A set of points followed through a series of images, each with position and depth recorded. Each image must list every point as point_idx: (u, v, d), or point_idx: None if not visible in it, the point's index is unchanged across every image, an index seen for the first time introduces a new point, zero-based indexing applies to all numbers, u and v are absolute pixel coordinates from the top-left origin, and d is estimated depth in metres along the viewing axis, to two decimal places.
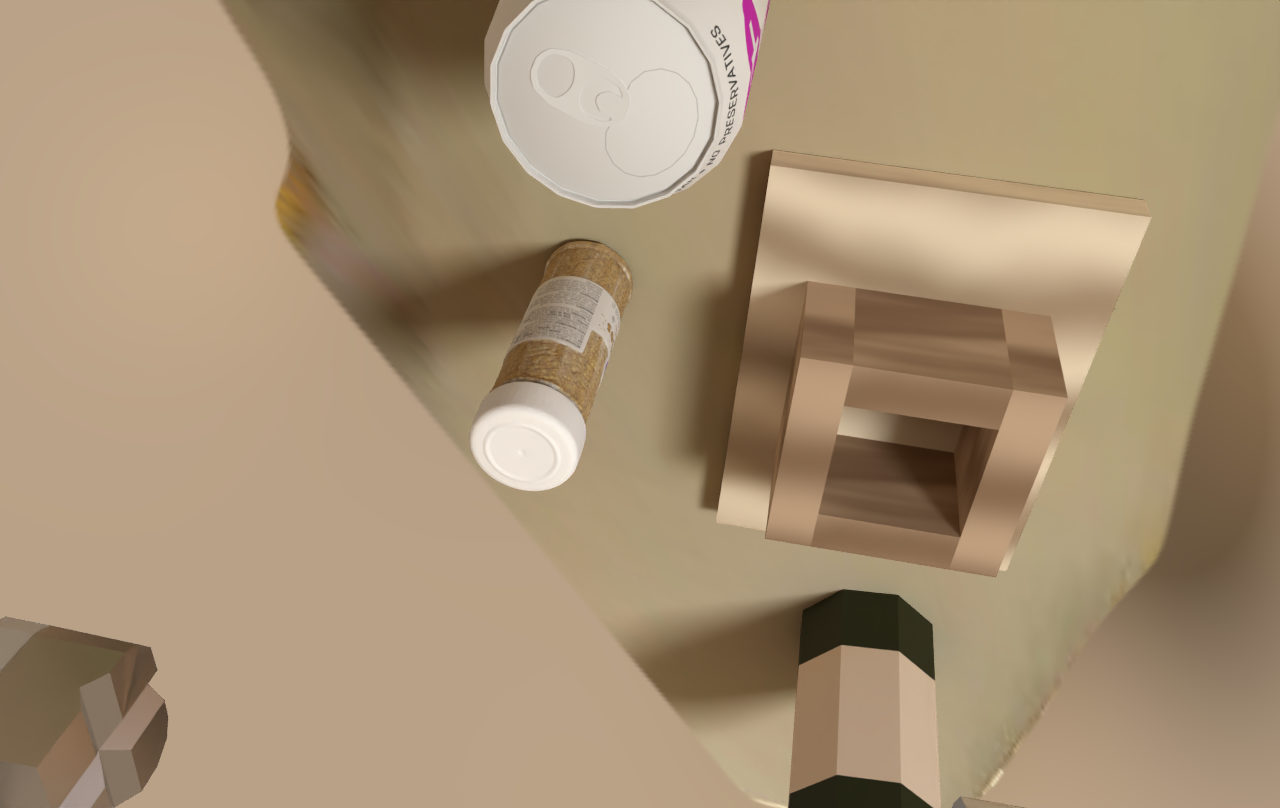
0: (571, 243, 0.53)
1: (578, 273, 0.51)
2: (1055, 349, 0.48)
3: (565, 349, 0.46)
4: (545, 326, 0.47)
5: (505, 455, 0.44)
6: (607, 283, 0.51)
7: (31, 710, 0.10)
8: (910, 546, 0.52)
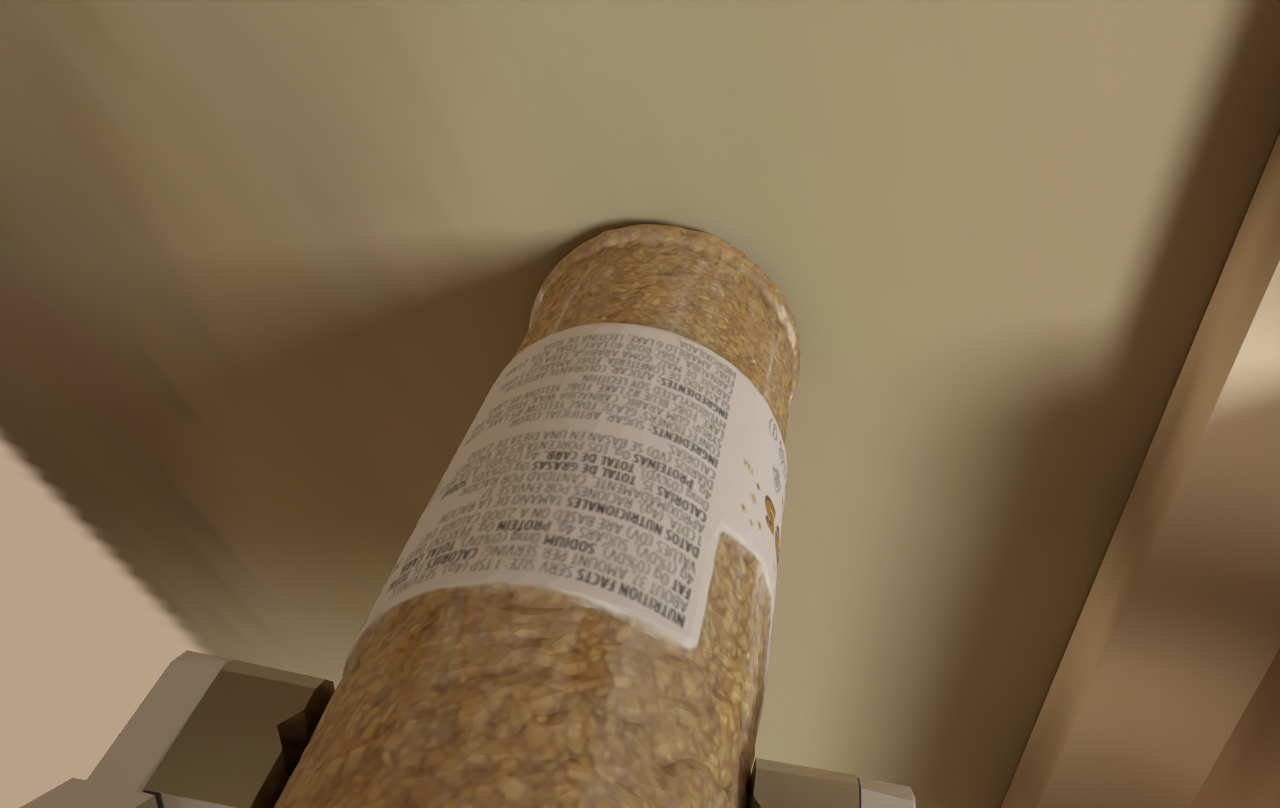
0: (616, 232, 0.17)
1: (646, 316, 0.14)
2: None
3: (617, 640, 0.10)
4: (530, 518, 0.11)
5: None
6: (743, 352, 0.15)
7: (233, 750, 0.10)
8: None
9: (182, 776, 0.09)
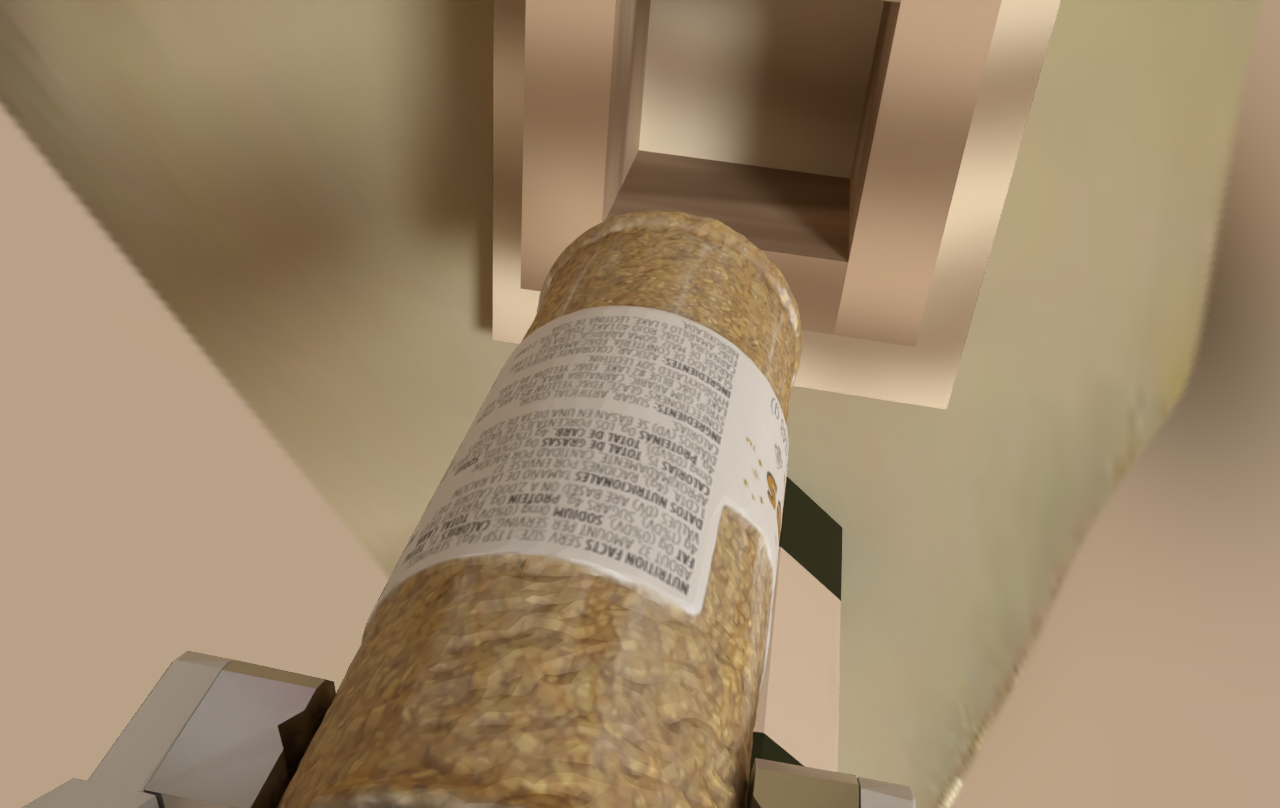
0: (621, 217, 0.17)
1: (651, 297, 0.15)
2: None
3: (624, 606, 0.10)
4: (540, 492, 0.11)
5: None
6: (746, 334, 0.15)
7: (233, 750, 0.10)
8: None
9: (183, 776, 0.09)
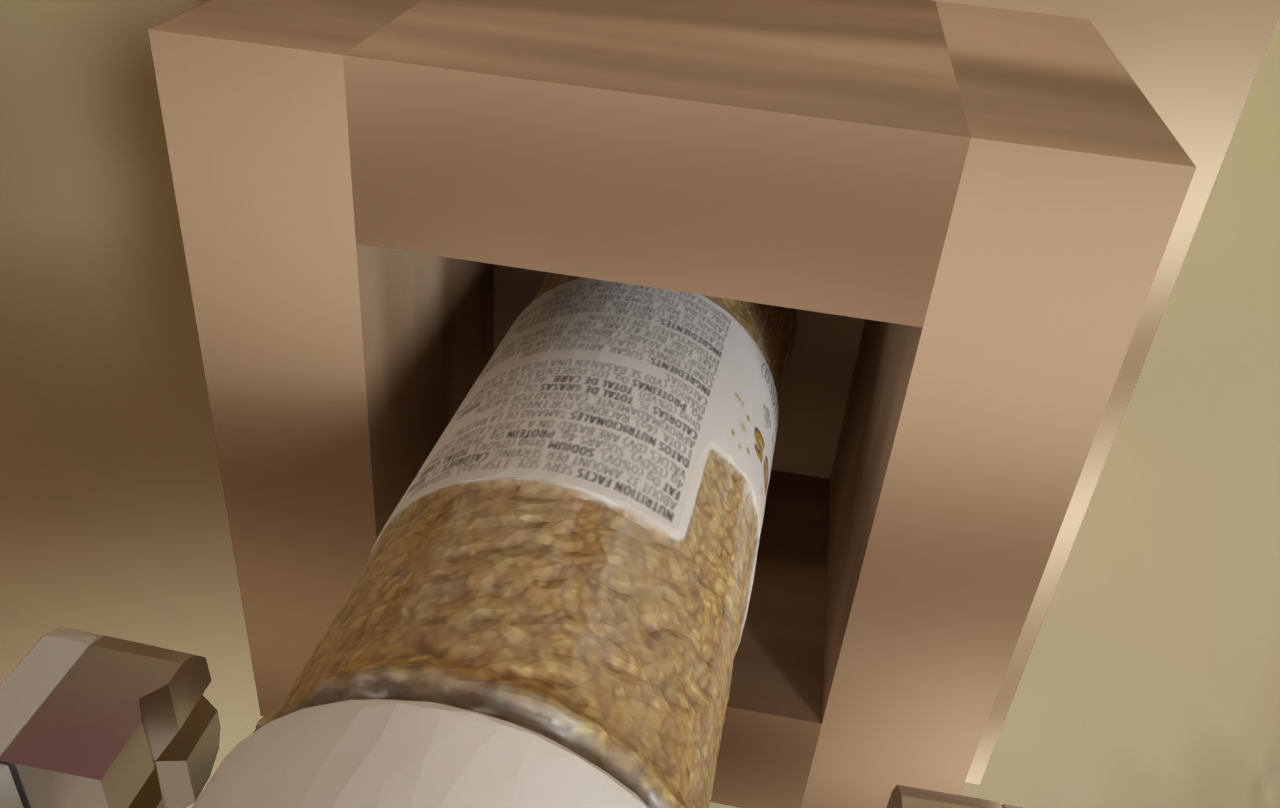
0: None
1: None
2: (1117, 69, 0.14)
3: (611, 526, 0.11)
4: (536, 428, 0.12)
5: None
6: (739, 305, 0.16)
7: (91, 722, 0.10)
8: None
9: (37, 747, 0.10)
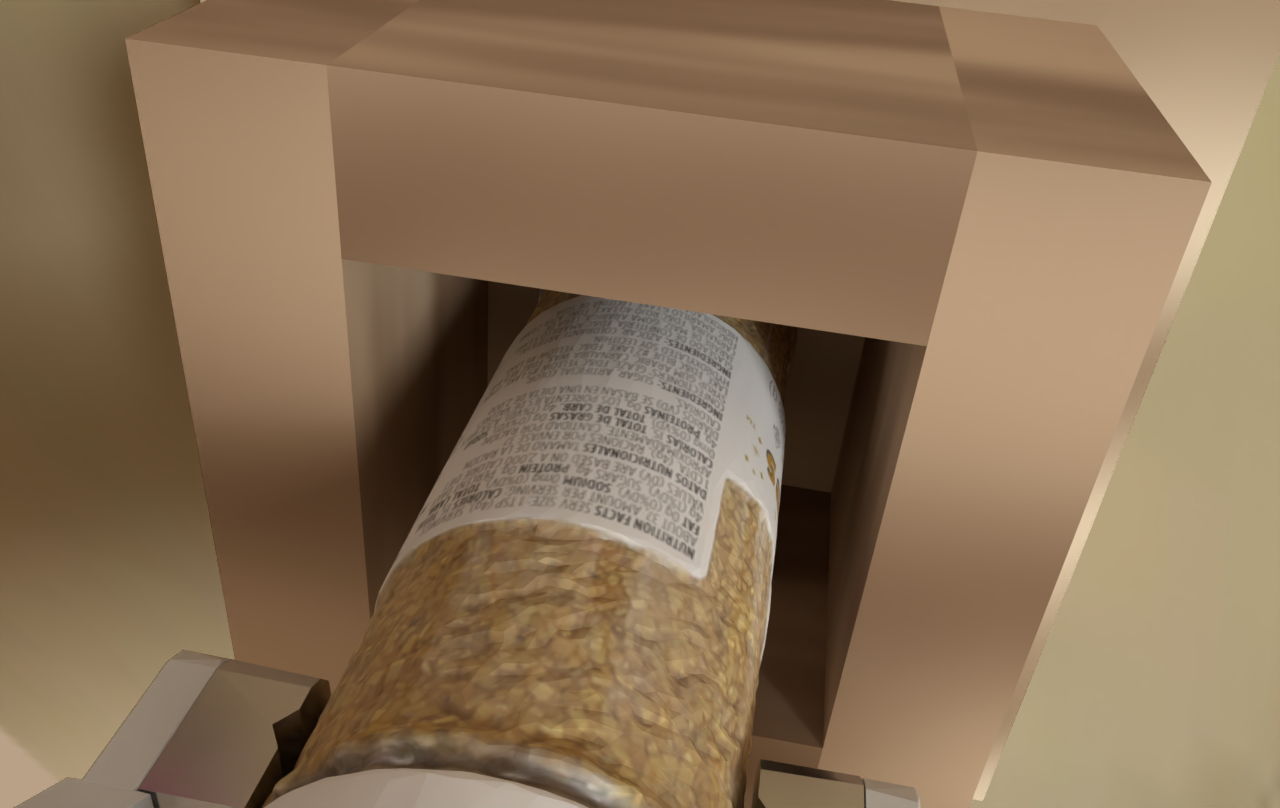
0: None
1: None
2: (1127, 77, 0.13)
3: (632, 568, 0.11)
4: (549, 462, 0.12)
5: None
6: (745, 319, 0.16)
7: (228, 748, 0.10)
8: None
9: (177, 775, 0.09)
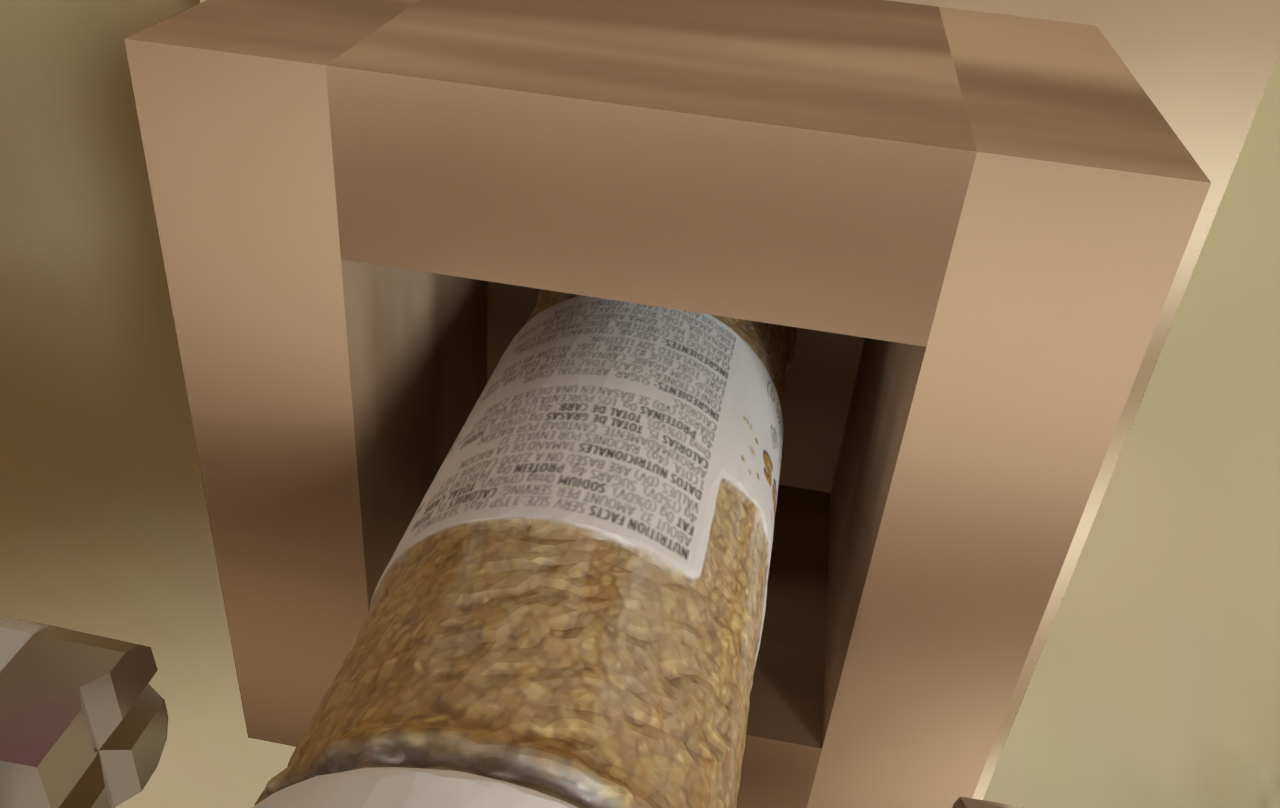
0: None
1: None
2: (1127, 78, 0.13)
3: (627, 567, 0.11)
4: (545, 461, 0.12)
5: None
6: None
7: (31, 710, 0.10)
8: None
9: None
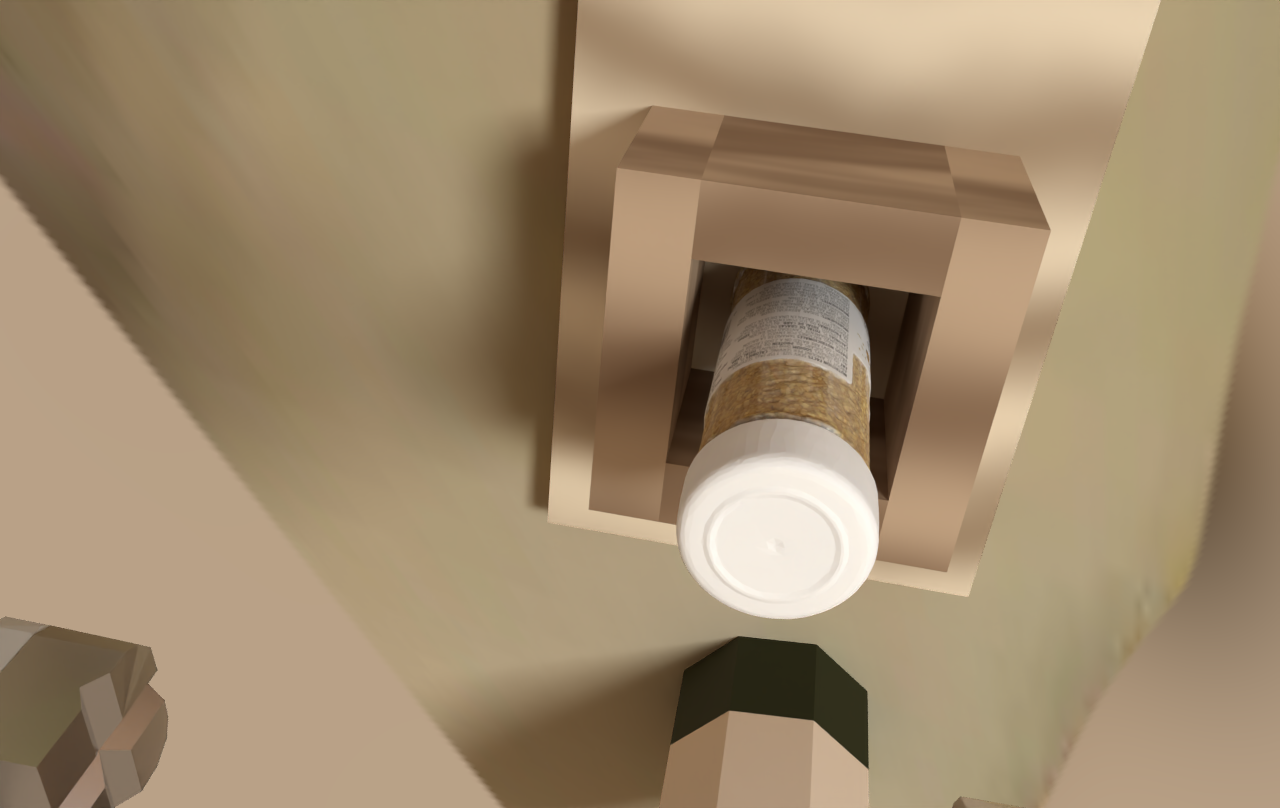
0: None
1: None
2: (1028, 184, 0.30)
3: (825, 376, 0.27)
4: (785, 341, 0.28)
5: (742, 551, 0.25)
6: (850, 294, 0.32)
7: (31, 710, 0.10)
8: None
9: None
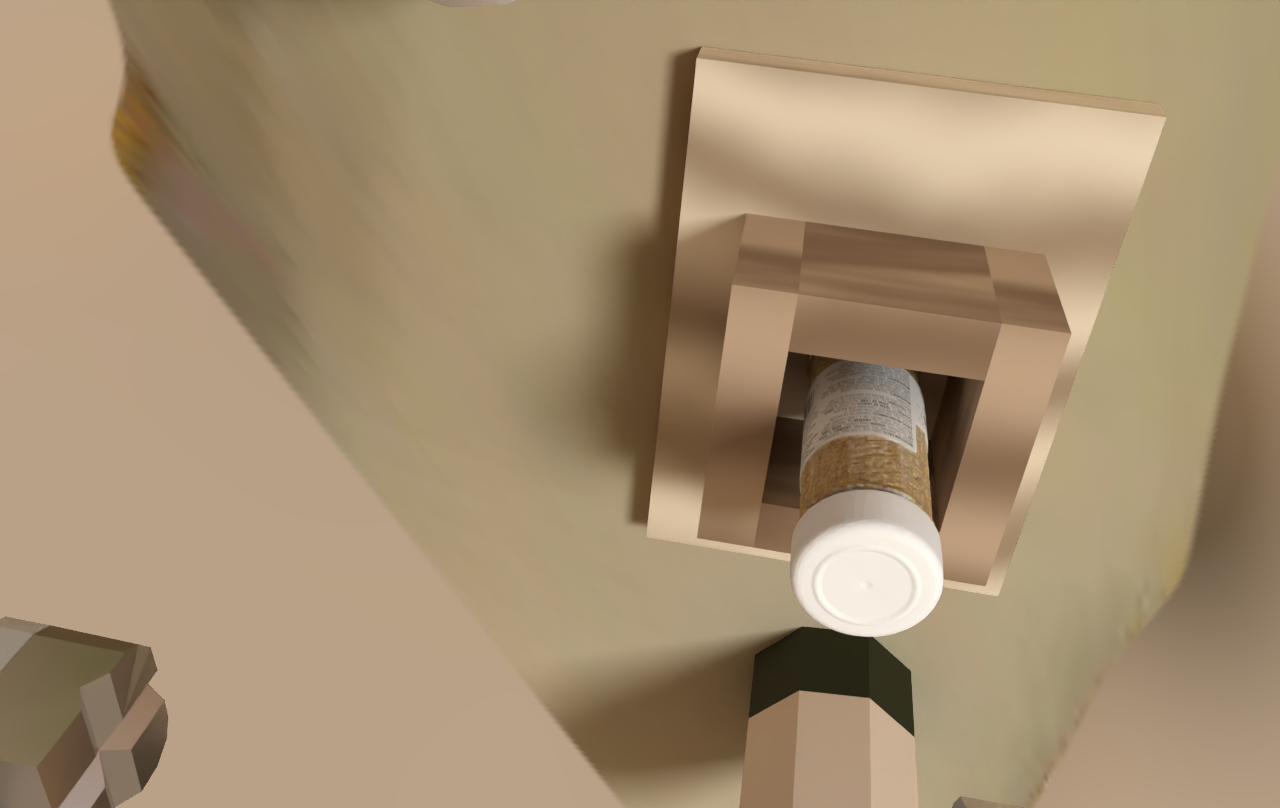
0: None
1: None
2: (1052, 285, 0.38)
3: (897, 448, 0.35)
4: (863, 418, 0.36)
5: (840, 589, 0.33)
6: None
7: (31, 710, 0.10)
8: None
9: None
